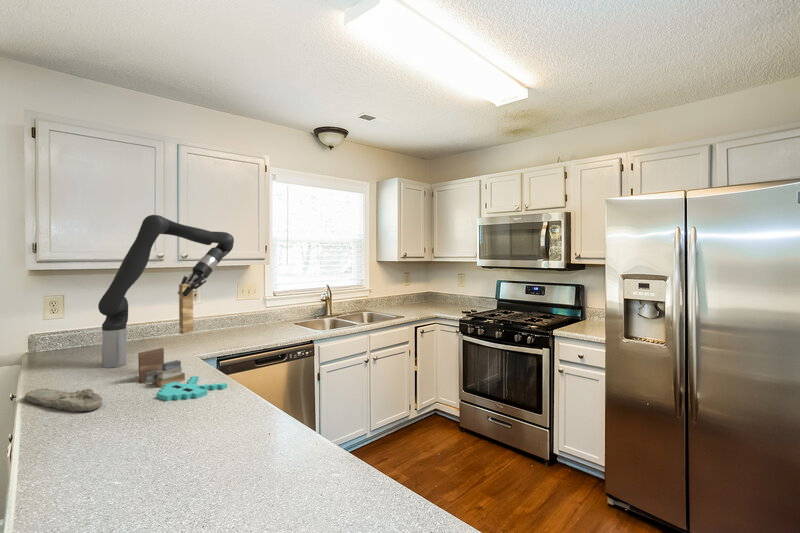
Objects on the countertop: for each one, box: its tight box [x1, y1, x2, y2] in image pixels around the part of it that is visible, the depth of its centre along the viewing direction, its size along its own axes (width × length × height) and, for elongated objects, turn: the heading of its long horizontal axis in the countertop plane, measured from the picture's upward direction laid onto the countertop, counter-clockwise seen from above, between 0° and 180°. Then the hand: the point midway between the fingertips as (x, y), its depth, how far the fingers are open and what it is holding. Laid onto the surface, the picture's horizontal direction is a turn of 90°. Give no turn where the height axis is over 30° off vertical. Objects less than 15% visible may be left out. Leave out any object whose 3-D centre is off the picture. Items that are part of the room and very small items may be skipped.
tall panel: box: [178, 283, 194, 335], centre depth 178 cm, size 2×5×22 cm, turn 154°
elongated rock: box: [23, 387, 103, 413], centre depth 140 cm, size 35×5×10 cm
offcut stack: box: [155, 359, 186, 388], centre depth 162 cm, size 4×10×8 cm, turn 154°
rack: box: [137, 347, 165, 386], centre depth 166 cm, size 10×10×12 cm
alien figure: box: [156, 375, 228, 402], centre depth 154 cm, size 20×2×20 cm
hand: (181, 294), depth 176 cm, fingers closed on tall panel, 2 cm apart
